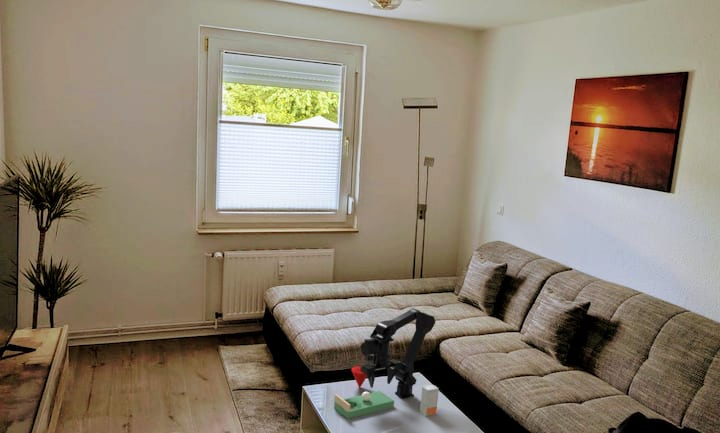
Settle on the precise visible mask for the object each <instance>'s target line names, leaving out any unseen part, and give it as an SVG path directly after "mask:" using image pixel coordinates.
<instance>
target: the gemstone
mask: <svg viewBox="0 0 720 433" xmlns="http://www.w3.org/2000/svg"><path fill="white" fill-rule="evenodd" d="M360 369H361V366H360V365H359V366H354V367H352V368H351V369H350V370H351V373H352V375H353V377H354V380H355V382H356V383H357V386H358V388H359V387H360V388H361V387H362V385H364V384H363V383H364V382H365V381H366V379H367V378H368V377H367V375H365V374H364V373H362V372H361V371H360Z"/></svg>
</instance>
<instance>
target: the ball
mask: <svg viewBox="0 0 720 433" xmlns="http://www.w3.org/2000/svg"><path fill="white" fill-rule="evenodd" d="M370 393H371V392H368V391H364V392H362V394H361V395H362V399H363V400H364V401H368V400H370V398H371V395H370Z"/></svg>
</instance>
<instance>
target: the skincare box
mask: <svg viewBox="0 0 720 433" xmlns="http://www.w3.org/2000/svg"><path fill="white" fill-rule="evenodd" d="M439 390H440V389H439V387H437V386H436V385H434V384H431V385H429V384H428V385H423V386H422V387H421V398H420V407H419V413H421V414H422V415H423V416H424V417H427V416H431V415H432V416H433V415H435V414H437V409H438V400H439V399H438V398H439Z"/></svg>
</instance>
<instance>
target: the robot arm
mask: <svg viewBox="0 0 720 433" xmlns="http://www.w3.org/2000/svg"><path fill="white" fill-rule="evenodd" d="M414 321H415V322H414ZM412 322H414V324H415V325H414V326H415V331H414V333H413V336H412V338H411V340H410V342H409V345H408V347H407V349H406V351H405V355H404V357H403V359H402V360H397V359H395V358H393V359H390V358H391V354H390V344H391V342H394V339H393V337H394V335H395V334H396V332H398V330H399V329H401V328H402V327H404V326H406V325H409V324H410V323H412ZM435 324H436V318H435V316H434V315H431V314H428V313H426V312H422V311H421V310H419V309H417V308H410V309H409V310H407V311H405V312H404V313H402V314H400V315H398V316H396V317H395V318H393V319H390V320H383V321H379V322H378V323H376V324H375V325H376V326H375V328H374V329H373V331H372V332H371V334H370V336H369V338H368V339H367V338H366V339H364V340H363V341H362V343H361V344H360V352H361V354H362V356H363V358H364V361H365V362H367V364H362V365H361V366H360V367H361V369H360V371H361V372H362V373H364V374H365V375H367V377H366V378H367V379H368V380H367V381H368V384H369V387H370V388H371V389H373V388H374V387H373V386H374V383H375V380H376V374H375V373H376V371H380V370H385V369H387V377H386V379H387V380H386V381H387V384H388V385H390V384H391V382H392V381H393V379H394V378H395V380H396V381H398V382H397V385H396V391H395V392H394V394H395V395H397V396H398V397H400V398H401V399H406V398H412V397H414V396H415V394H413V386H414V385H416V384H417V378H416V376H414V372H415V369H414V368H415V367H414V362H415V361H416V358H417V356H418V353H419V352H420V349H421V347H422V345H423V342H424V340H425V337H426V335H427V334H429V333H430V332H431V331H432V329H433V328H434V327H435ZM369 363H371V364H369Z"/></svg>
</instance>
